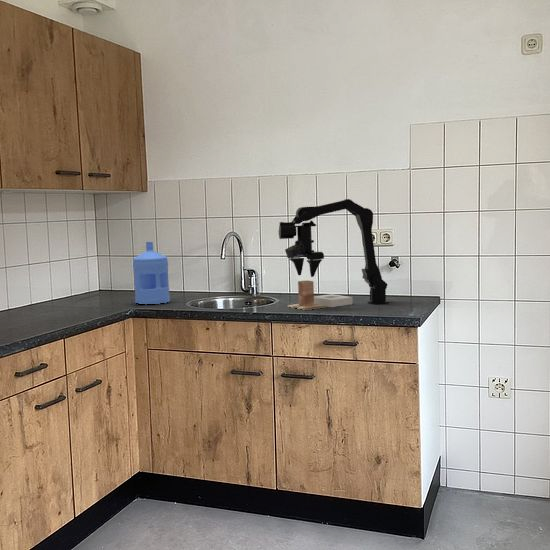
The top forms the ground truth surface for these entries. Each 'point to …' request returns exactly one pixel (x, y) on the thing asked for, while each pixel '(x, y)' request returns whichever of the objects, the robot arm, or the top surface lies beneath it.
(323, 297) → the pocket plate
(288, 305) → the slatted wooden trivet
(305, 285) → the terracotta peg
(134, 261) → the water jug
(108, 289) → the top surface
